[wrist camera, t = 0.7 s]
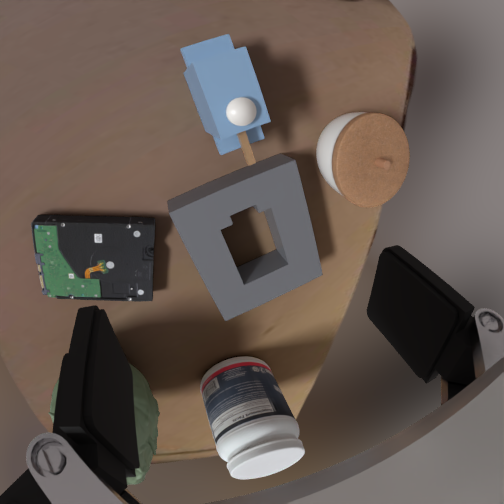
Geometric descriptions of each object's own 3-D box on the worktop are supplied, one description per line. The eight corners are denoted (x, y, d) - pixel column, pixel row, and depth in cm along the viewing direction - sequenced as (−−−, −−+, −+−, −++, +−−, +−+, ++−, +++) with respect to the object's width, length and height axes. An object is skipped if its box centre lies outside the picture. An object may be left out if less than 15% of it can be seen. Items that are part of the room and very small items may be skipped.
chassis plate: (280, 153, 33) (295, 160, 30) (309, 260, 42) (322, 274, 38) (167, 201, 32) (169, 213, 28) (218, 302, 40) (225, 321, 37)
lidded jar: (307, 100, 31) (354, 104, 23) (375, 116, 34) (426, 126, 26) (296, 186, 36) (337, 213, 28) (363, 189, 39) (408, 214, 31)
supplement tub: (270, 384, 54) (308, 462, 39) (207, 403, 51) (233, 486, 36) (265, 342, 47) (313, 434, 32) (190, 364, 45) (216, 466, 29)
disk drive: (155, 214, 33) (36, 213, 27) (155, 223, 30) (29, 222, 25) (152, 289, 37) (47, 288, 32) (154, 302, 35) (43, 300, 29)
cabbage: (88, 402, 43) (91, 500, 26) (40, 329, 33) (13, 450, 17) (167, 392, 47) (188, 495, 30) (135, 314, 37) (144, 449, 21)
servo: (177, 57, 25) (185, 39, 17) (218, 43, 25) (240, 24, 18) (216, 161, 31) (237, 179, 24) (254, 146, 32) (285, 160, 25)
